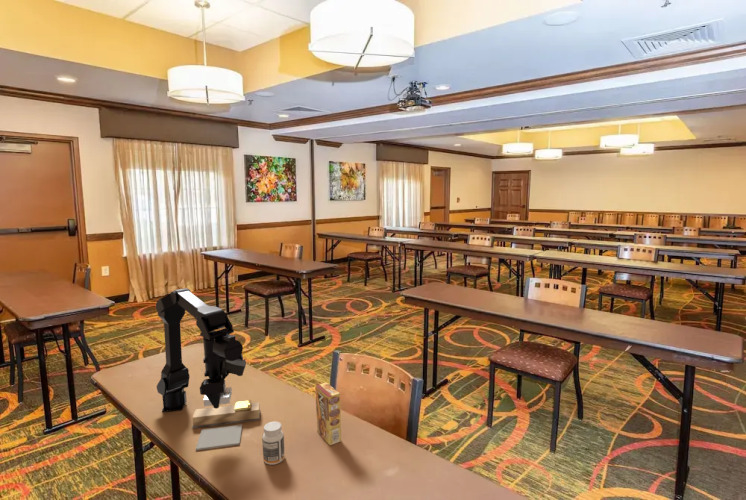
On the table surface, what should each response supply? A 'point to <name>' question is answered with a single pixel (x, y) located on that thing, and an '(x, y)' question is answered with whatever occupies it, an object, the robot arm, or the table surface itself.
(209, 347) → the robot arm
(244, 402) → the gold flat block
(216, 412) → the body
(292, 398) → the table surface
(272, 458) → the pill bottle
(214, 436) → the mat
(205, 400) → the cap plate
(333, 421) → the candy box
